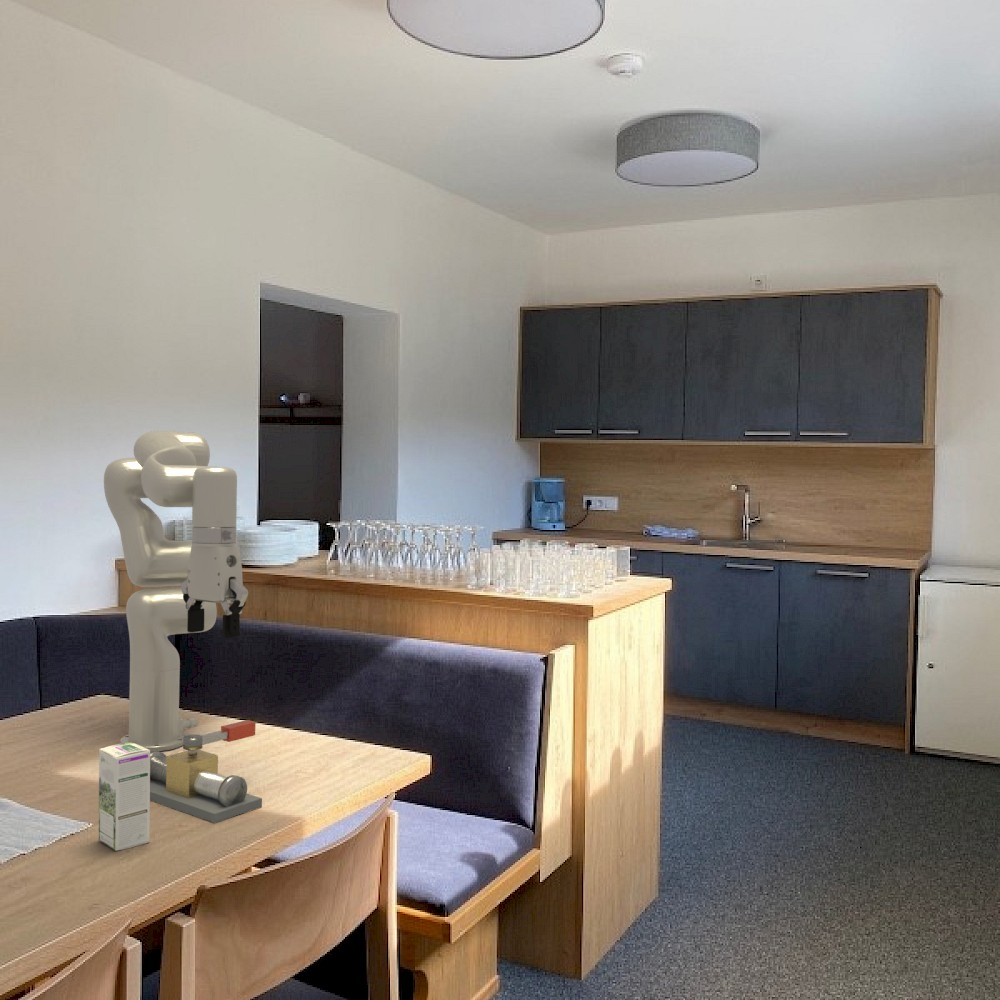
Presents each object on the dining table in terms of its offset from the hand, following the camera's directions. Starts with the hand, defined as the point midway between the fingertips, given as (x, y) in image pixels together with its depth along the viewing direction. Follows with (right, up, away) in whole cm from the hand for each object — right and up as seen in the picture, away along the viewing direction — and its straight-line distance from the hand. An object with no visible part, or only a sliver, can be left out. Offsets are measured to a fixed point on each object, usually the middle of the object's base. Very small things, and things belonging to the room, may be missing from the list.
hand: (213, 634), depth 182 cm
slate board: (-2, -28, -5) cm, 28 cm away
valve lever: (+1, -20, 0) cm, 20 cm away
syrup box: (-7, -29, -25) cm, 38 cm away
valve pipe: (-2, -28, -5) cm, 28 cm away
